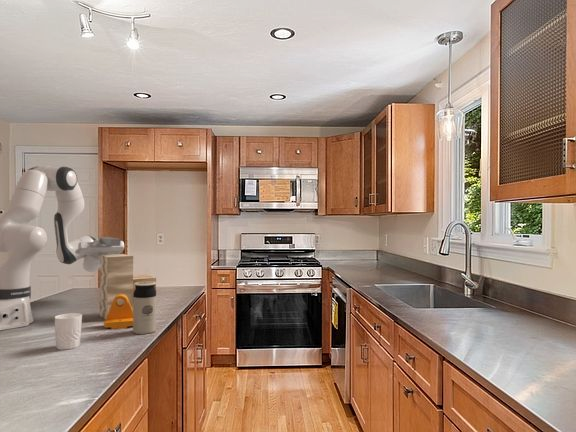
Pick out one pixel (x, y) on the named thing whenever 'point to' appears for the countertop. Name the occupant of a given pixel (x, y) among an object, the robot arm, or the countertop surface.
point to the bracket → (119, 314)
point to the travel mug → (144, 308)
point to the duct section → (109, 241)
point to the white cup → (68, 330)
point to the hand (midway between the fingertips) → (105, 239)
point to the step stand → (118, 280)
